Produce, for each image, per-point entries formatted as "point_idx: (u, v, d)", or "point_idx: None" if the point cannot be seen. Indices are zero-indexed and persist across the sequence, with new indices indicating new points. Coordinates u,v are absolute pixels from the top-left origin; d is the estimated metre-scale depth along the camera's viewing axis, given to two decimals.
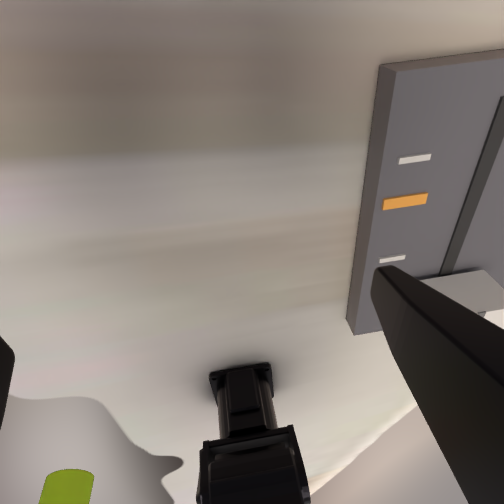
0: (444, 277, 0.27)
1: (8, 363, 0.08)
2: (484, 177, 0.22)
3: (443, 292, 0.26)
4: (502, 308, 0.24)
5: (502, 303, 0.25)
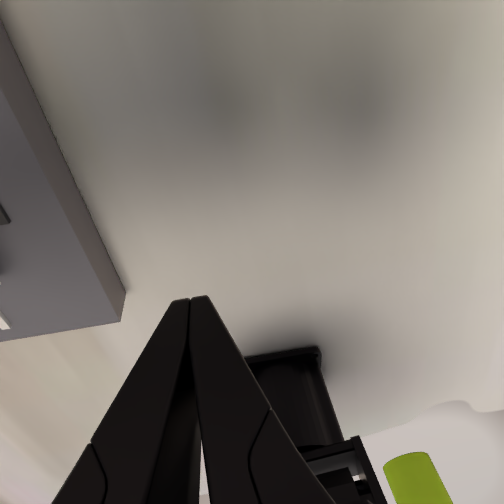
0: None
1: None
2: None
3: None
4: None
5: None
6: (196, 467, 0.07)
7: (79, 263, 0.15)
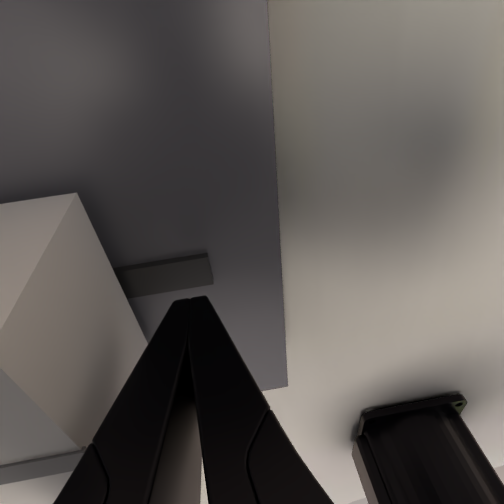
0: None
1: None
2: None
3: None
4: None
5: None
6: (197, 467, 0.07)
7: (272, 325, 0.11)
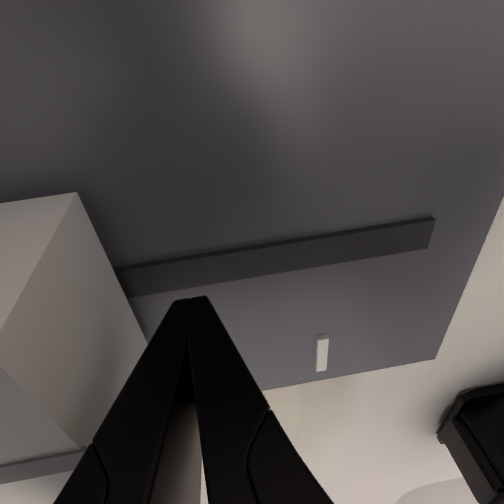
0: None
1: None
2: None
3: None
4: None
5: None
6: (197, 467, 0.07)
7: (451, 293, 0.12)
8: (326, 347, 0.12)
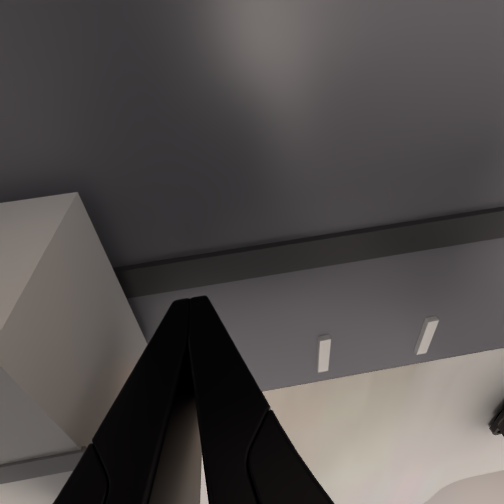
0: None
1: None
2: None
3: None
4: None
5: None
6: (197, 467, 0.07)
7: None
8: (433, 329, 0.13)
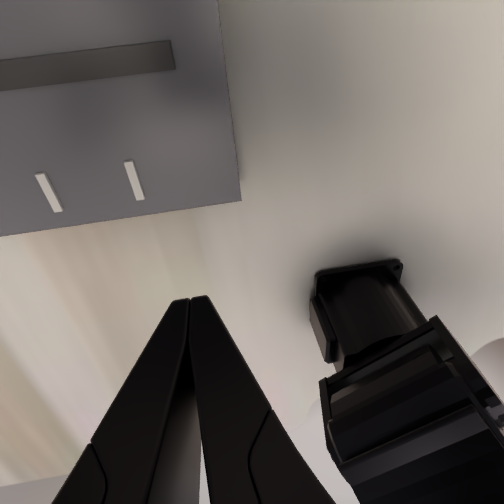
0: None
1: None
2: None
3: None
4: None
5: None
6: (196, 467, 0.07)
7: (222, 125, 0.15)
8: (134, 171, 0.16)
